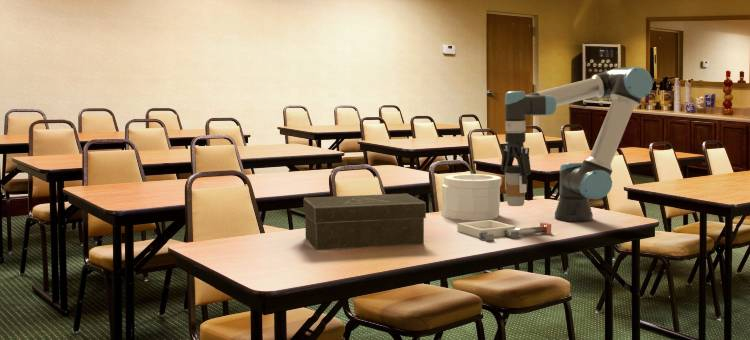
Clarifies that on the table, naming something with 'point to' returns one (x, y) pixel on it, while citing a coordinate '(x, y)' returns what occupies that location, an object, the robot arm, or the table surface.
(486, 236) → the bar guides
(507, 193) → the coffee cup
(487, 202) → the container
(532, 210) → the table surface
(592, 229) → the table surface
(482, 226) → the square tray
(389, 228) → the box
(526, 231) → the lock bar
